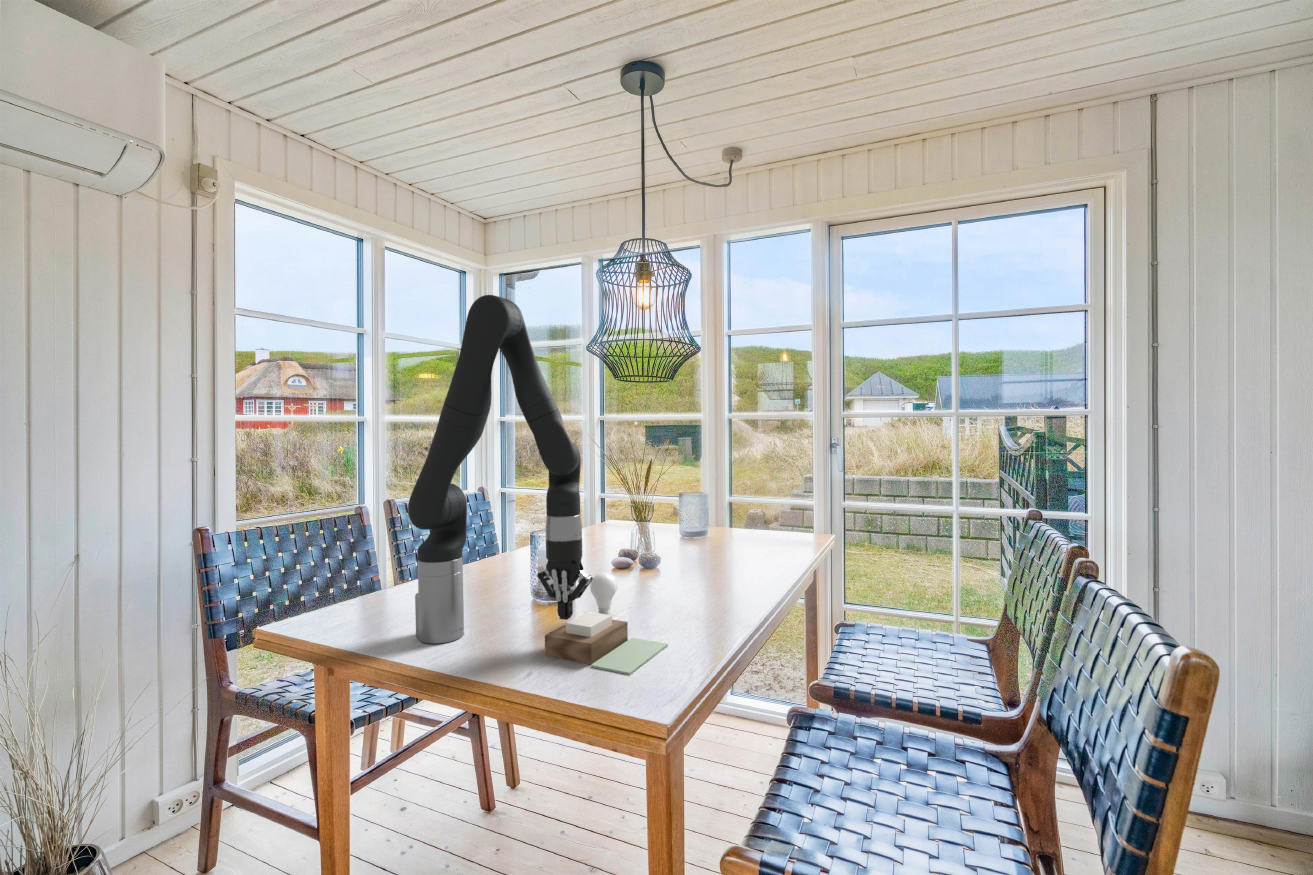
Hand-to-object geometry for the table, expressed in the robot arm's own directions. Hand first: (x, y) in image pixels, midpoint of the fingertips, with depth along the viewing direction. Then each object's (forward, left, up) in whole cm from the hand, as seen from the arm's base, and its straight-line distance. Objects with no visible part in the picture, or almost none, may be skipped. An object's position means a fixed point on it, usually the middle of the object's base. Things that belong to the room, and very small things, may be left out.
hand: (565, 618), depth 126 cm
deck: (+5, 0, -5) cm, 8 cm away
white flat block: (+6, 0, -1) cm, 6 cm away
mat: (+16, 0, -5) cm, 17 cm away
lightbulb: (-1, +17, -6) cm, 18 cm away
